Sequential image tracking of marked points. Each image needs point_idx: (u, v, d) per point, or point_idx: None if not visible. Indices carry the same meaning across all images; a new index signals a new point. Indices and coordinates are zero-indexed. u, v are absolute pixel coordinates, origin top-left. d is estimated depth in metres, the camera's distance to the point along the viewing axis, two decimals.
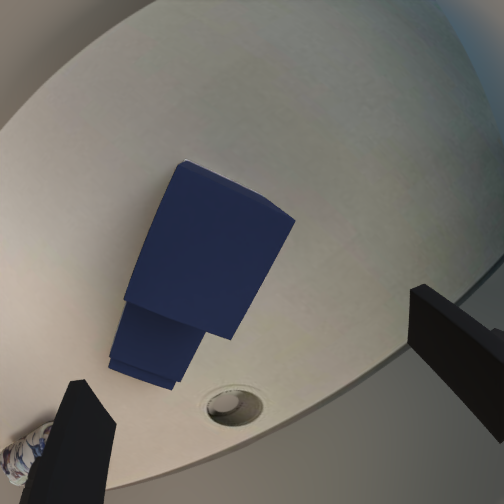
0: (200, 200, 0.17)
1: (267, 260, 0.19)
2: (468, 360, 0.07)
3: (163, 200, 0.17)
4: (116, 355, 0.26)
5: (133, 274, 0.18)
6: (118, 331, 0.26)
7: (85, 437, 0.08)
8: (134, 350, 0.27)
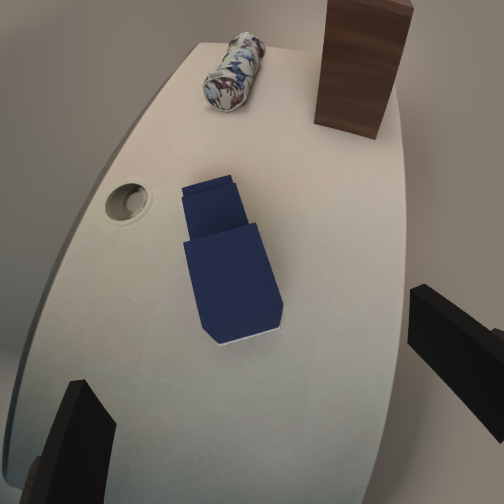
0: (258, 298, 0.28)
1: (199, 297, 0.28)
2: (468, 360, 0.07)
3: (275, 284, 0.29)
4: (231, 186, 0.41)
5: (260, 238, 0.31)
6: (240, 202, 0.40)
7: (85, 437, 0.08)
8: (223, 198, 0.41)
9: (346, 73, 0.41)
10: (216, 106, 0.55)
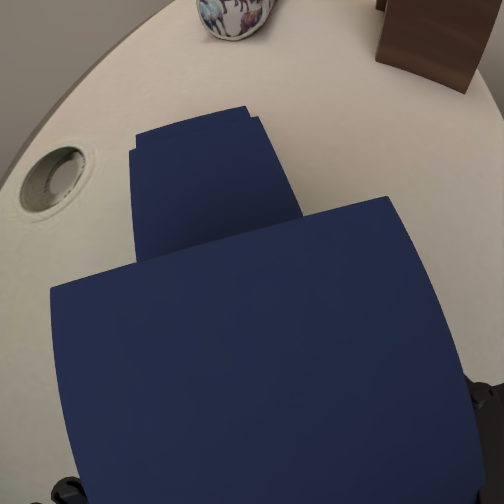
0: None
1: None
2: None
3: None
4: (249, 124, 0.16)
5: (426, 276, 0.05)
6: (274, 157, 0.15)
7: None
8: (228, 147, 0.15)
9: None
10: (217, 32, 0.30)
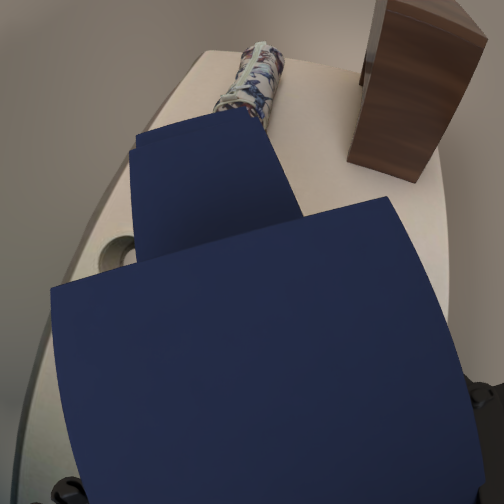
0: None
1: None
2: None
3: None
4: (249, 124, 0.16)
5: (425, 276, 0.05)
6: (274, 158, 0.15)
7: None
8: (228, 147, 0.15)
9: (395, 108, 0.33)
10: None
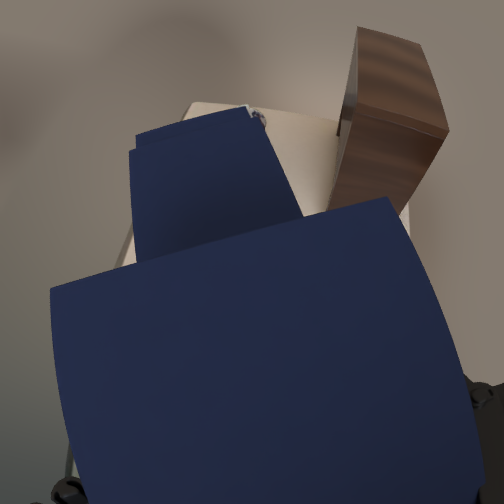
0: None
1: None
2: None
3: None
4: (249, 124, 0.16)
5: (425, 276, 0.05)
6: (274, 158, 0.15)
7: None
8: (228, 147, 0.15)
9: (363, 186, 0.44)
10: None
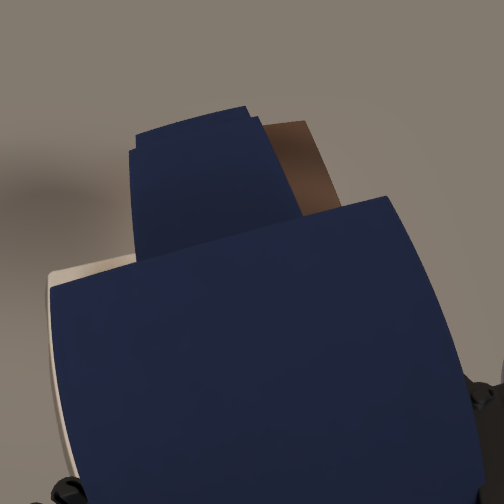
0: None
1: None
2: None
3: (482, 485, 0.03)
4: (249, 124, 0.16)
5: (425, 276, 0.05)
6: (274, 157, 0.15)
7: None
8: (228, 147, 0.15)
9: None
10: None
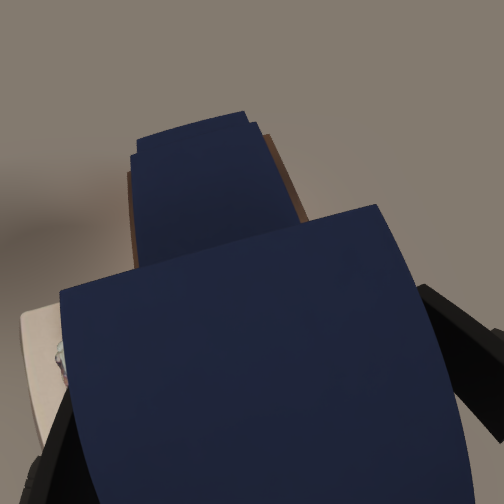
0: None
1: None
2: (468, 360, 0.07)
3: (468, 478, 0.04)
4: (248, 129, 0.17)
5: (411, 280, 0.06)
6: (272, 162, 0.15)
7: None
8: (227, 152, 0.16)
9: None
10: None
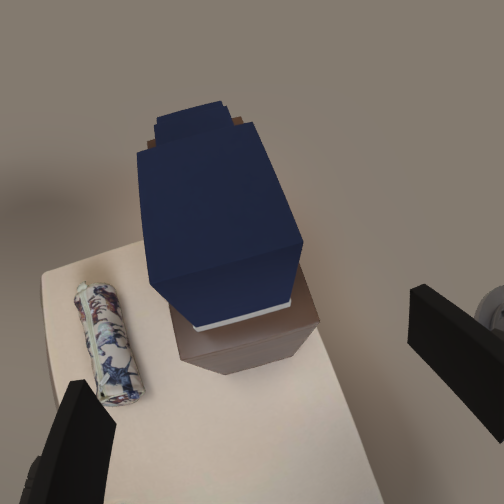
0: (255, 229, 0.15)
1: (150, 230, 0.15)
2: (468, 360, 0.07)
3: (287, 206, 0.16)
4: (221, 110, 0.28)
5: (260, 141, 0.18)
6: (232, 126, 0.27)
7: (85, 437, 0.08)
8: (209, 122, 0.28)
9: (243, 362, 0.38)
10: None
